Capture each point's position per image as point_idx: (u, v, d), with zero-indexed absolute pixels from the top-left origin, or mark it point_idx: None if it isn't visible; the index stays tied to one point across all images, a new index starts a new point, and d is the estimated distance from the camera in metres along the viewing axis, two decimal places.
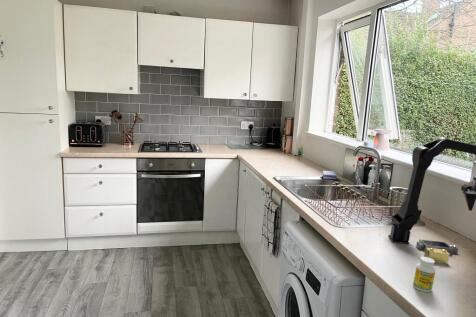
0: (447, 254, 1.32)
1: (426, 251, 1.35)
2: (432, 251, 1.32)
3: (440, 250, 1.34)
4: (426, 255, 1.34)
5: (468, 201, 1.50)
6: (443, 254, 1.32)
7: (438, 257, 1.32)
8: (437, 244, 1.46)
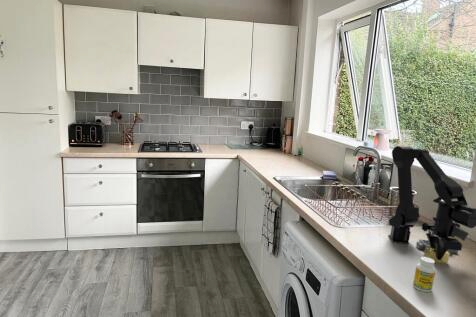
0: (447, 254, 1.32)
1: (426, 251, 1.34)
2: (432, 251, 1.32)
3: None
4: (426, 255, 1.34)
5: (432, 245, 1.35)
6: None
7: None
8: None
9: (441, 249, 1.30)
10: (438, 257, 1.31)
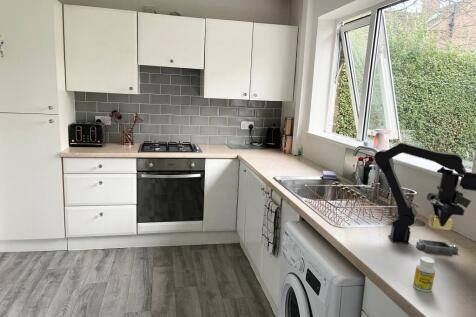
0: (450, 220, 1.39)
1: (430, 218, 1.42)
2: (436, 218, 1.39)
3: None
4: (430, 222, 1.41)
5: (436, 213, 1.42)
6: None
7: None
8: (437, 244, 1.46)
9: (444, 216, 1.37)
10: (441, 223, 1.38)
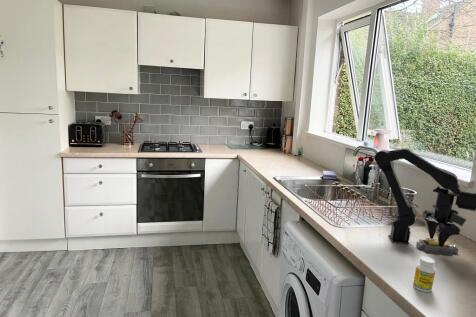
0: (445, 244, 1.41)
1: (425, 241, 1.44)
2: (431, 241, 1.42)
3: None
4: None
5: (429, 229, 1.46)
6: None
7: None
8: None
9: (443, 236, 1.37)
10: (440, 244, 1.38)
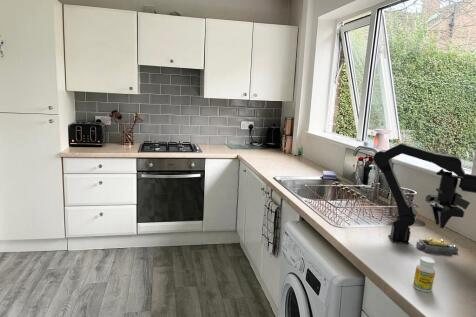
0: (445, 244, 1.41)
1: (425, 241, 1.44)
2: (431, 241, 1.42)
3: (439, 240, 1.43)
4: None
5: (435, 215, 1.43)
6: (441, 244, 1.41)
7: None
8: None
9: (444, 217, 1.38)
10: (441, 225, 1.39)
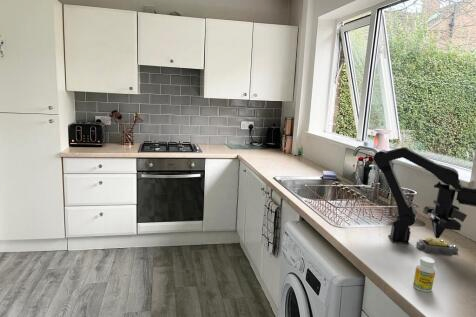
0: (445, 244, 1.41)
1: (425, 241, 1.44)
2: (431, 241, 1.42)
3: (438, 240, 1.43)
4: None
5: None
6: (441, 244, 1.41)
7: None
8: None
9: (439, 228, 1.40)
10: (436, 236, 1.42)
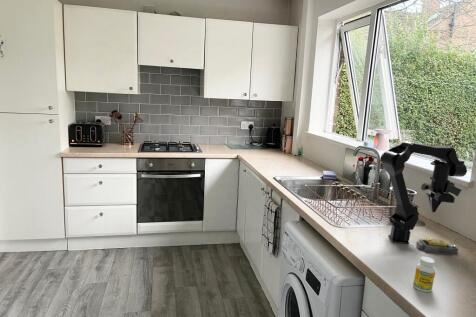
0: (445, 244, 1.41)
1: (425, 241, 1.44)
2: (431, 241, 1.42)
3: (438, 240, 1.43)
4: None
5: None
6: (441, 244, 1.41)
7: None
8: None
9: (435, 202, 1.50)
10: (433, 210, 1.51)
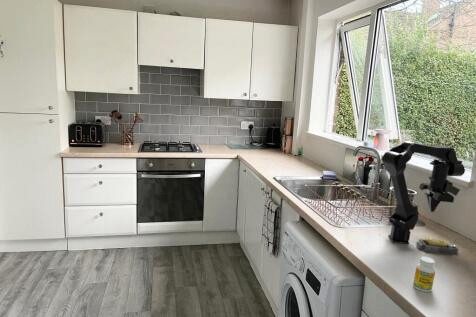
0: (445, 244, 1.41)
1: (425, 241, 1.44)
2: (431, 241, 1.42)
3: (438, 240, 1.43)
4: None
5: None
6: (441, 244, 1.41)
7: None
8: None
9: (434, 202, 1.51)
10: (431, 209, 1.52)
